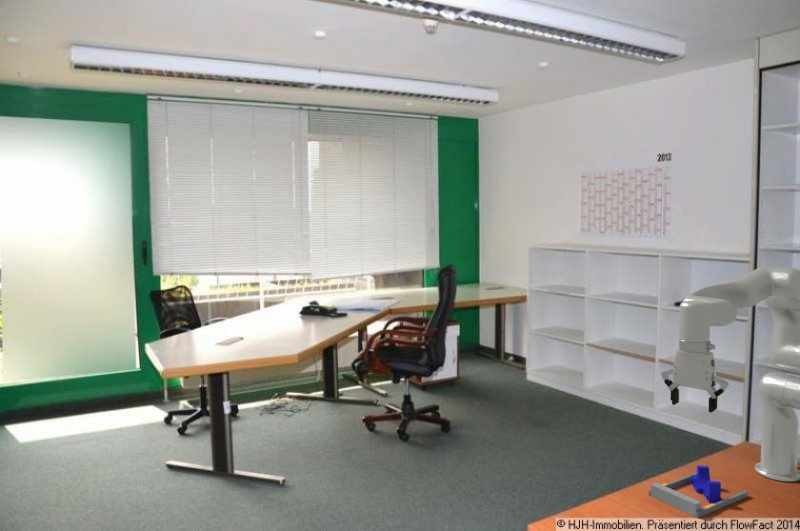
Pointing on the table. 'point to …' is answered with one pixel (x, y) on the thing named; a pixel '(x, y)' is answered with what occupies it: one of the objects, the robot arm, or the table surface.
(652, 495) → the u-shaped alignment fixture
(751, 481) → the table surface
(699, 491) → the cable clip
